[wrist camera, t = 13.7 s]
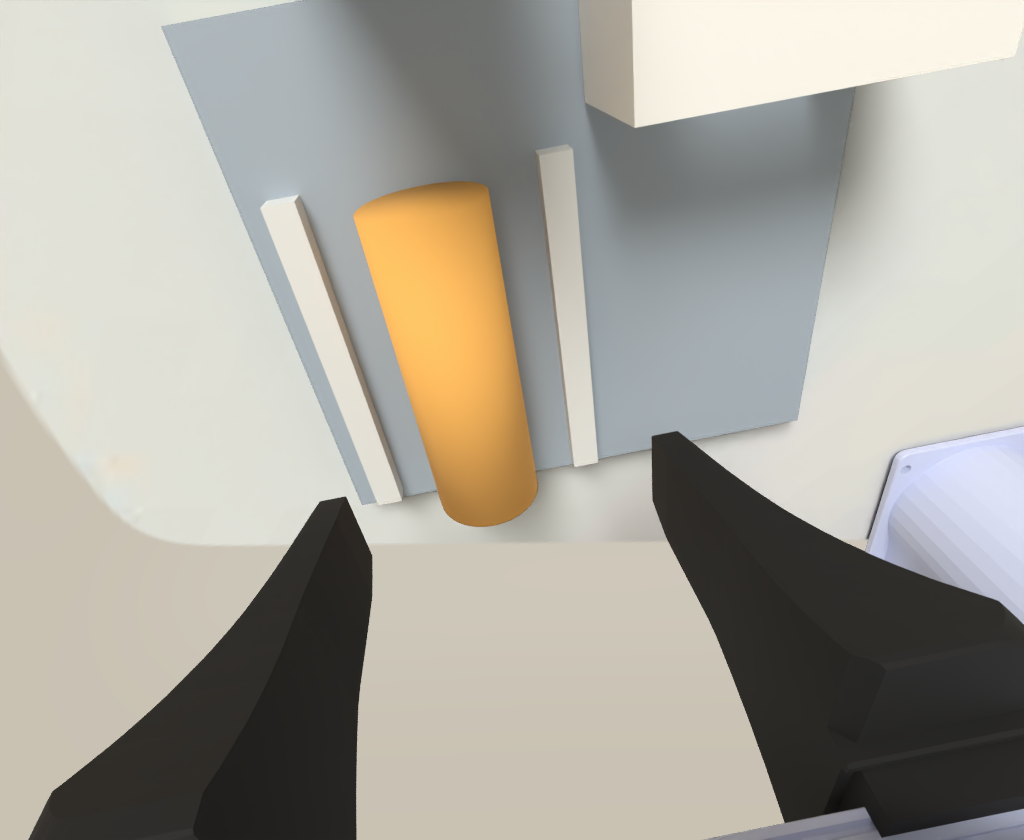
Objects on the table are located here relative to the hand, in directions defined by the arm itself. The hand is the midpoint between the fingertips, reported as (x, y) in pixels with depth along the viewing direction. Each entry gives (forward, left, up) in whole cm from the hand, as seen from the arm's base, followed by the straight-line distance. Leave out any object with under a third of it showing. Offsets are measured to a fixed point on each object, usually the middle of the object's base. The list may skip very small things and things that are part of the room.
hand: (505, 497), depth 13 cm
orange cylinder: (0, +1, -9) cm, 9 cm away
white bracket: (+8, -9, -9) cm, 15 cm away
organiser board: (+2, -3, -10) cm, 10 cm away
